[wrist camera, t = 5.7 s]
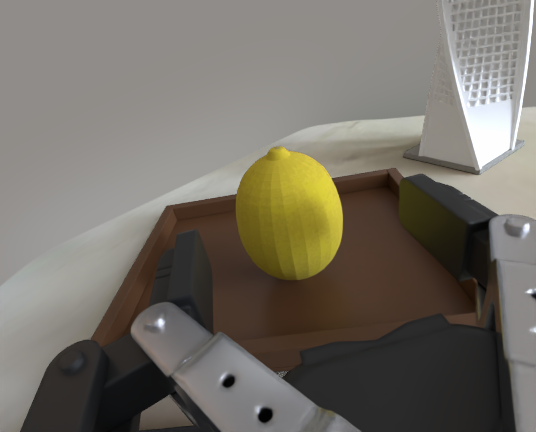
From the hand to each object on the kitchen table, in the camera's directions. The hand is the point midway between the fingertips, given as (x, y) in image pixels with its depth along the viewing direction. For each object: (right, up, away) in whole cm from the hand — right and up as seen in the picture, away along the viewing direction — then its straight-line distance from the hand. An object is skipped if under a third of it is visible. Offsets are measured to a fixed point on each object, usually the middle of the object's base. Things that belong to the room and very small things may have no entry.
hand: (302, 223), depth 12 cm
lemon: (+1, -3, +7) cm, 7 cm away
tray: (0, -3, +8) cm, 9 cm away
